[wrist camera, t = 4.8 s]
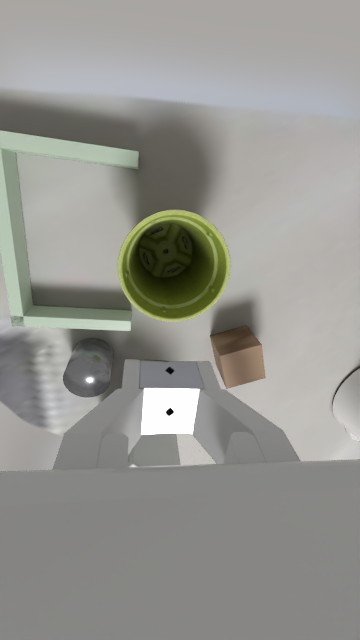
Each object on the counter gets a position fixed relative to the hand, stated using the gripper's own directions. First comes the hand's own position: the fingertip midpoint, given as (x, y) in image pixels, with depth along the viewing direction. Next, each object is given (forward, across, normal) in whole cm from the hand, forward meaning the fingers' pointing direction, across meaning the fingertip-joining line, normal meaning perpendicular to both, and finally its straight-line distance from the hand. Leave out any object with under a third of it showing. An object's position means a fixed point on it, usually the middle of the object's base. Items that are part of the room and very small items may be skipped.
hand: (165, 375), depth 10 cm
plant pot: (+23, -2, 0) cm, 23 cm away
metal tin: (+23, +6, +14) cm, 27 cm away
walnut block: (+23, -12, +12) cm, 28 cm away
